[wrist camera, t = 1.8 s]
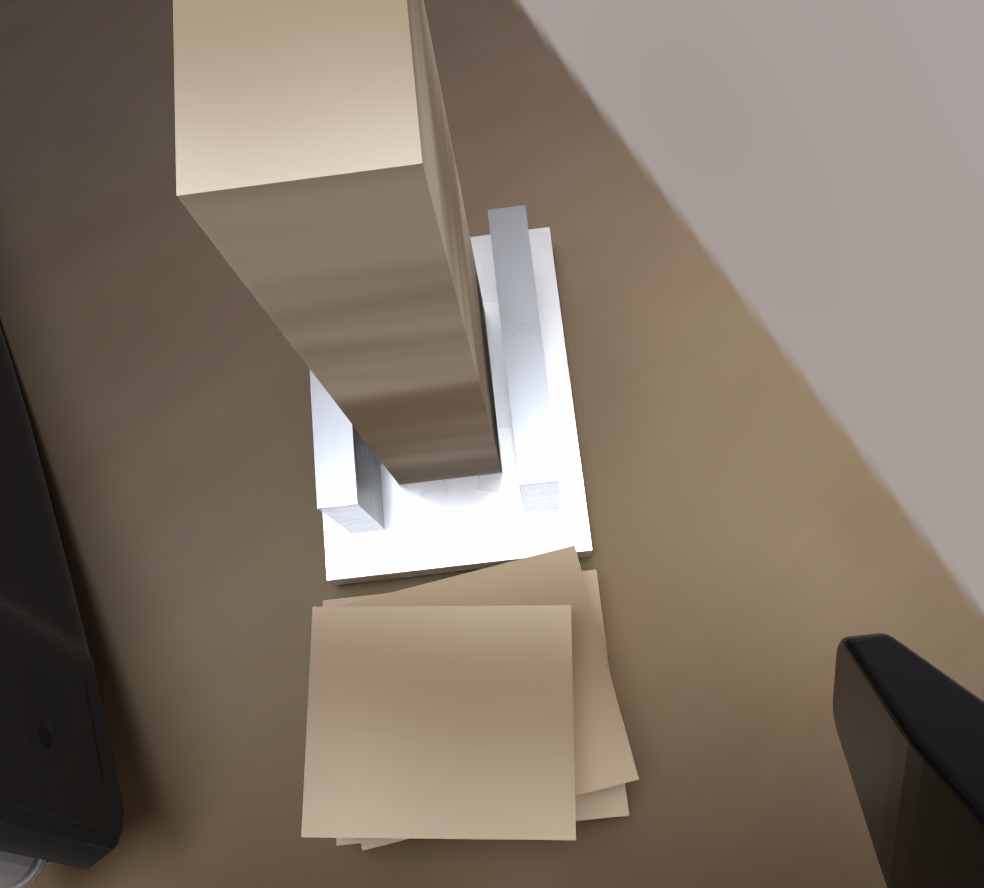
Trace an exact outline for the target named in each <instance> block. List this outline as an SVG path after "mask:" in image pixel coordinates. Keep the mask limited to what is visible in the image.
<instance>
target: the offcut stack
mask: <svg viewBox="0 0 984 888" xmlns="http://www.w3.org/2000/svg"><path fill="white" fill-rule="evenodd" d="M635 780H639V777H638V774H637V770H636V766H635V763H634V759H633V755H632V752H631V748H630V745H629V741H628V737H627V734H626V730H625V726H624V723H623V719H622V715H621V712H620V708H619V705H618V701H617V697H616V694H615V690H614V686H613V683H612V679H611V675H610V668H609V661H608V653H607V646H606V638H605V631H604V623H603V616H602V609H601V601H600V594H599V586H598V579H597V571H596V570H587V571H582V570H581V566H580V563H579V559H578V555H577V552H576V548H575V545H573V546H569V547H565V548H561V549H557V550H554V551H550V552H546V553H542V554H538V555H534V556H530V557H527V558H523V559H519V560H515V561H511V562H507V563H503V564H500V565H496V566H492V567H488V568H484V569H480V570H476V571H472V572H469V573H465V574H461V575H457V576H453V577H449V578H445V579H442V580H438V581H434V582H430V583H426V584H422V585H418V586H414V587H411V588H407V589H403V590H399V591H395V592H391V593H385V594H376V595H367V596H358V597H349V598H340V599H332V600H323V607H313V608H312V628H311V648H310V669H309V689H308V710H307V730H306V751H305V771H304V791H303V812H302V832H301V837H318V838H336V845H337V846H338V845H348V844H357V843H361V846H362V851H364V850H367V849H371V848H375V847H379V846H383V845H387V844H391V843H395V842H398V841H402V840H406V839H410V838H411V839H503V840H576V821H581V820H591V819H600V818H610V817H620V816H629V810H628V803H627V795H626V788H625V783H627V782H631V781H635Z"/></svg>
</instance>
